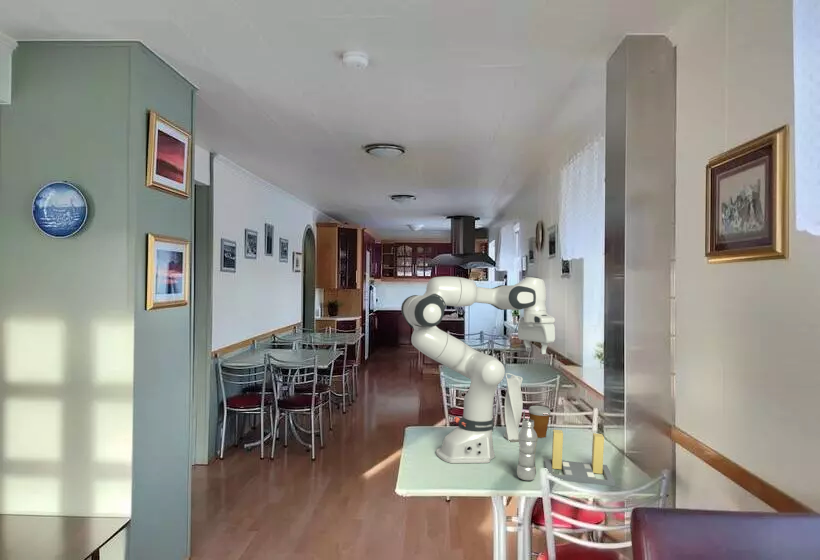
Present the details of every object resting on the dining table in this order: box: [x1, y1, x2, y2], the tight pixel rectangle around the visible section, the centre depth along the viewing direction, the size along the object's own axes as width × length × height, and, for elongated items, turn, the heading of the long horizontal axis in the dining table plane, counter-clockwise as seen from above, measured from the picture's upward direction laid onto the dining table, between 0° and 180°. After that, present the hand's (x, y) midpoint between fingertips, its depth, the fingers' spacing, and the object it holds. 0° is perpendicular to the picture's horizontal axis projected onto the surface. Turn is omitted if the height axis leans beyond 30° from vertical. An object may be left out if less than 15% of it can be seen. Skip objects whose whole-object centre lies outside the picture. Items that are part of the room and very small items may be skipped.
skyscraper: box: [503, 372, 526, 443], centre depth 225 cm, size 8×8×28 cm
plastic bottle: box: [516, 418, 538, 481], centre depth 181 cm, size 6×7×20 cm
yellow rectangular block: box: [551, 429, 564, 470], centre depth 193 cm, size 4×3×13 cm
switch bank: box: [544, 458, 616, 487], centre depth 188 cm, size 16×22×2 cm
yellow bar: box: [591, 432, 605, 475], centre depth 191 cm, size 4×3×13 cm
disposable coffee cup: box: [527, 405, 552, 439], centre depth 231 cm, size 10×10×12 cm
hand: (535, 352), depth 210 cm, fingers open, 8 cm apart
